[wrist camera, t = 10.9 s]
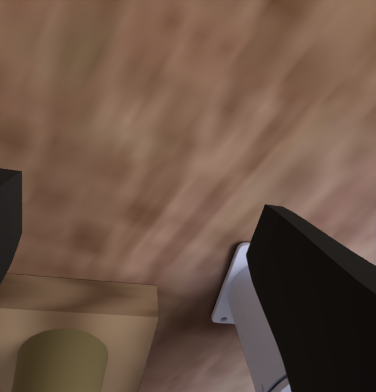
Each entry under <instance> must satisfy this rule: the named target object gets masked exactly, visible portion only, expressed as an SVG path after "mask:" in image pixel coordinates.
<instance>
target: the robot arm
mask: <svg viewBox="0 0 376 392" xmlns="http://www.w3.org/2000/svg"><path fill="white" fill-rule="evenodd" d="M21 234H22V171H16V170H8V169H1V168H0V284H1V282H2V281H3V279H4V277H5V275H6V273H7V271H8V269H9V267H10V265H11V263H12V260H13V257H14V254H15V252H16V249H17V246H18V243H19V240H20V237H21ZM211 318H212V321H213V322H215V323H229V324H235V326H236V329H237V333H238V336H239V339H240V342H241V346H242V349H243V352H244V355H245V358H246V362H247V365H248V368H249V371H250V375H251V378H252V381H253V384H254V388H255V391H256V392H376V266H375V265H373V264H372V263H370V262H368V261H367V260H365V259H364V258H362V257H360V256H359V255H357V254H356V253H354V252H352V251H351V250H349V249H348V248H346V247H345V246H343V245H342V244H340V243H339V242H337V241H336V240H334V239H333V238H331V237H330V236H328V235H327V234H325V233H324V232H322V231H321V230H319V229H318V228H316V227H315V226H313V225H312V224H311V223H309V222H308V221H306V220H305V219H303V218H301V217H300V216H298V215H297V214H295V213H293V212H292V211H290V210H288V209H286V208H284V207H281V206H274V205H266V204H265V206H264V209H263V211H262V214H261V216H260V219H259V222H258V224H257V227H256V229H255V232H254V235H253V237H252V240H251V242H250V243H246V242H245V243H241V244H239V245H238V247H237V249H236V252H235V254H234V257H233V260H232V262H231V265H230V268H229V270H228V273H227V275H226V278H225V281H224V283H223V286H222V289H221V291H220V294H219V297H218V299H217V302H216V304H215V307H214V310H213V312H212V315H211Z"/></svg>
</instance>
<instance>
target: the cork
mask: <svg viewBox="0 0 376 392" xmlns="http://www.w3.org/2000/svg"><path fill="white" fill-rule="evenodd" d="M107 361H108V351H107V348H106V346H105V345H104V344H103V343H102V341H101V340H100V339H99V338H97V337H95V336H93V335H91V334H89V333H87V332H84V331H80V330H75V329H53V330H48V331H43V332H41V333H39V334H36V335H34V336H32V337H30V338H29V339H28V340H27V341H26V342H24V343H23V344H22V346H21V348H20V350H19V352H18V356H17V362H16V368H15V374H14V380H13V386H12V391H11V392H101V389H102V385H103V380H104V375H105V371H106V366H107Z"/></svg>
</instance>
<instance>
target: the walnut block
mask: <svg viewBox="0 0 376 392" xmlns="http://www.w3.org/2000/svg"><path fill="white" fill-rule="evenodd" d="M158 320H159V310H158V297H157V285H144V284H132V283H119V282H106V281H94V280H81V279H68V278H56V277H43V276H30V275H18V274H6V275H5V277H4V279H3V281H2V282H1V284H0V392H11V391H12V386H13V380H14V374H15V368H16V362H17V356H18V352H19V350H20V348H21V346H22V344H23V343H24V342H26V341H27V340H28V339H29V338H30V337H32V336H34V335H36V334H39V333H41V332H43V331H48V330H53V329H75V330H80V331H84V332H87V333H89V334H91V335H93V336H95V337H97V338H99V339H100V340H101V341H102V343H103V344H104V345H105V346H106V348H107V351H108V361H107V366H106V371H105V375H104V380H103V385H102V389H101V392H138V391H139V388H140V384H141V380H142V377H143V373H144V370H145V366H146V362H147V359H148V355H149V352H150V348H151V345H152V341H153V337H154V334H155V330H156V327H157V323H158Z"/></svg>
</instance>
